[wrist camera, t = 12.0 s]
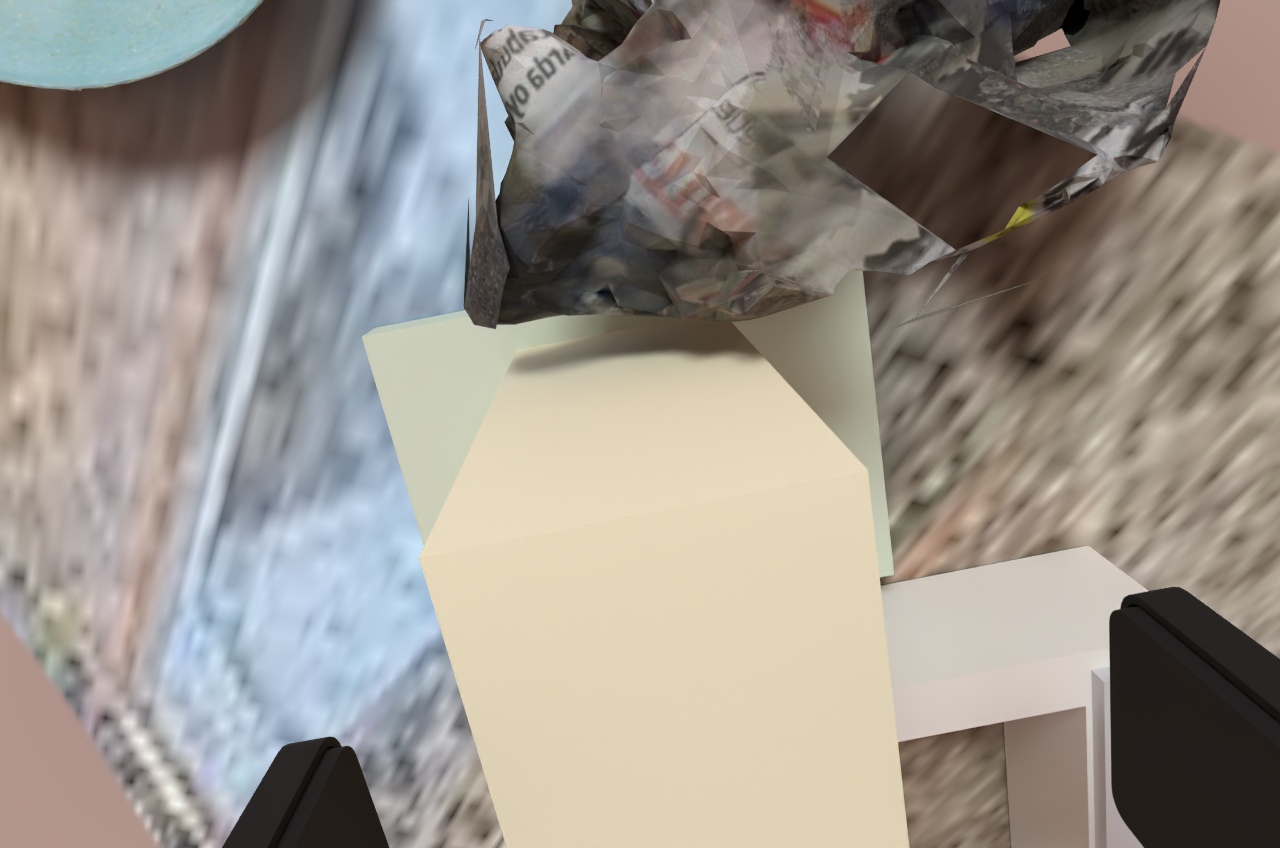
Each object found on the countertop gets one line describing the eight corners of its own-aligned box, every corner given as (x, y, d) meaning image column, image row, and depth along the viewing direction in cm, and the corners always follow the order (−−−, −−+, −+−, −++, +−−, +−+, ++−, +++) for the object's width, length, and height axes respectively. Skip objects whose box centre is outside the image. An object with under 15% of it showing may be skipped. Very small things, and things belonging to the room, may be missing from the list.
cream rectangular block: (720, 310, 19) (868, 470, 9) (761, 567, 21) (920, 945, 11) (516, 350, 19) (419, 557, 9) (577, 603, 21) (557, 1014, 11)
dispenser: (1088, 545, 23) (1216, 642, 18) (1094, 868, 27) (1203, 1019, 22) (677, 624, 23) (698, 742, 18) (739, 935, 27) (770, 1101, 22)
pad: (844, 235, 20) (859, 238, 19) (879, 554, 23) (894, 574, 22) (375, 327, 20) (361, 336, 19) (464, 634, 23) (457, 658, 22)
